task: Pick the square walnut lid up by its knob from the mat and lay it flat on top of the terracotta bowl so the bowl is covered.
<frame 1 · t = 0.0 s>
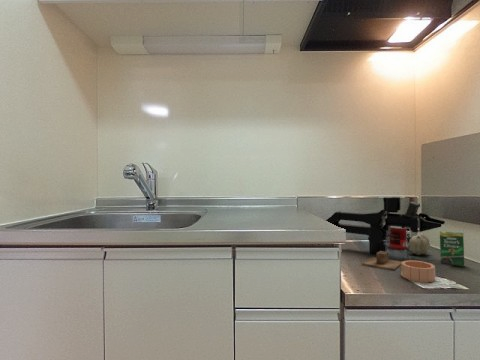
hand: (443, 223, 121), 17 cm above the table, tool horizontal, fingers open, 9 cm apart
bowl: (417, 278, 105), on the table
garlic bulb: (419, 255, 136), on the table
mat: (382, 265, 120), on the table
coffee box: (451, 265, 121), on the table
canned food: (397, 248, 149), on the table
lid: (382, 264, 120), point 1 cm above the table, touching mat
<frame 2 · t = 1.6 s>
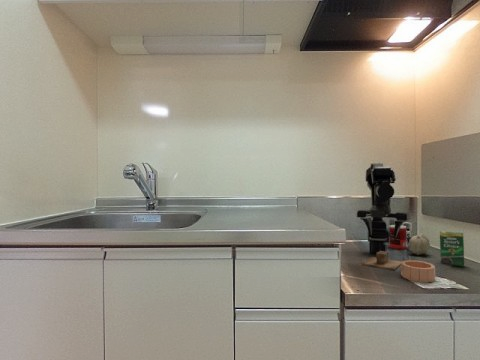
hand: (382, 236, 120), 12 cm above the table, tool pointing down, fingers open, 9 cm apart
nothing on the table moved.
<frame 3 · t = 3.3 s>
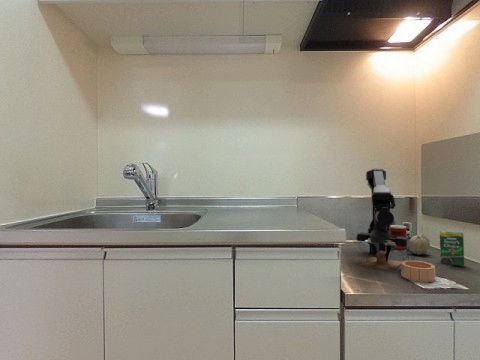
hand: (382, 260, 120), 2 cm above the table, tool pointing down, fingers closed on lid, 3 cm apart
lid: (382, 264, 120), point 1 cm above the table, touching gripper, mat
everything else where it was.
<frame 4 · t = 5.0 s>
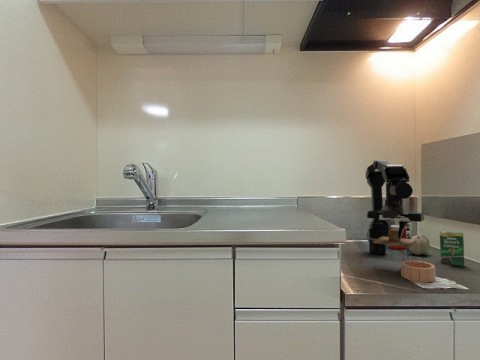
hand: (394, 238, 114), 12 cm above the table, tool pointing down, fingers closed on lid, 3 cm apart
lid: (394, 242, 114), point 11 cm above the table, touching gripper
everything else where it was.
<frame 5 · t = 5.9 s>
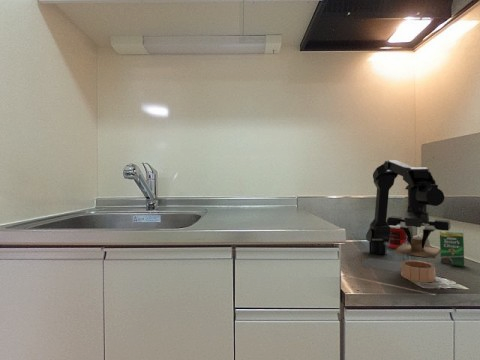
hand: (417, 247, 105), 11 cm above the table, tool pointing down, fingers closed on lid, 3 cm apart
lid: (417, 251, 105), point 9 cm above the table, touching gripper
everything else where it was.
when the fingers open (8 cm above the table, at t = 6.7 s): lid drops 2 cm, resting on bowl.
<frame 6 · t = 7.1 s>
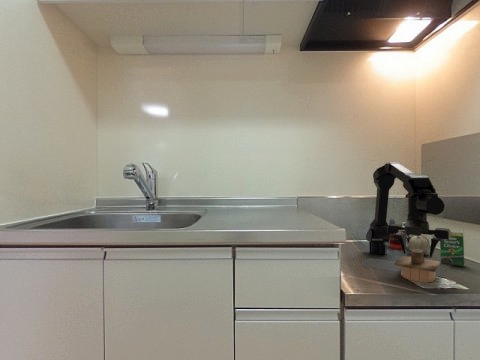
hand: (417, 255, 105), 8 cm above the table, tool pointing down, fingers open, 8 cm apart
lid: (417, 264, 105), point 5 cm above the table, touching bowl
everything else where it was.
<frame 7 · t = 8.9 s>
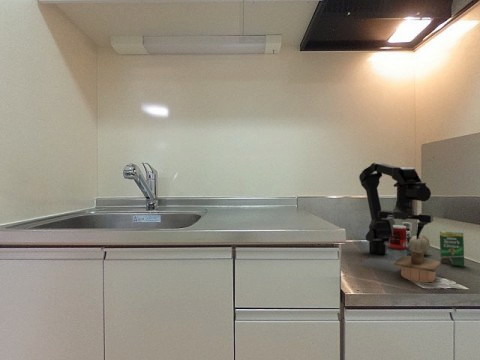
hand: (404, 237, 120), 12 cm above the table, tool pointing down, fingers open, 9 cm apart
nothing on the table moved.
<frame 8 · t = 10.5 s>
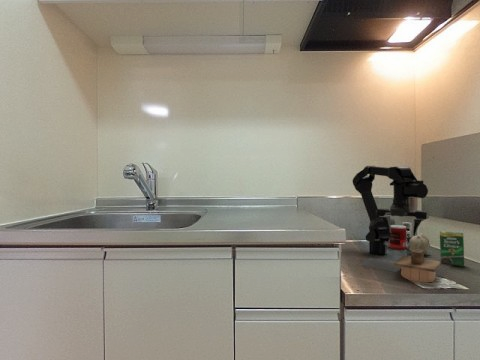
hand: (401, 234, 124), 12 cm above the table, tool pointing down, fingers open, 9 cm apart
nothing on the table moved.
at the end: lid 0.0 cm off-centre on the bowl, point 5.0 cm above the bowl's base; lid tilted 0°; the gripper is holding nothing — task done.
